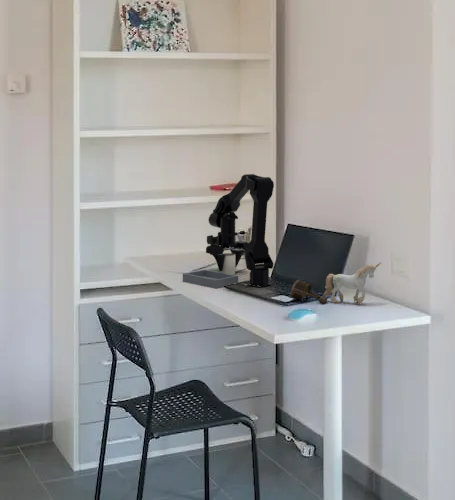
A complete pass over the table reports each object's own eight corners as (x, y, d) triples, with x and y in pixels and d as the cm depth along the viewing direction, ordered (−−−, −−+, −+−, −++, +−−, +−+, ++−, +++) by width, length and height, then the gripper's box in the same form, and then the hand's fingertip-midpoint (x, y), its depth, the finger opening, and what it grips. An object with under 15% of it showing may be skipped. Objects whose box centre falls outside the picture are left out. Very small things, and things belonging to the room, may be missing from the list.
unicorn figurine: (383, 305, 294) (384, 266, 292) (324, 305, 294) (325, 265, 292) (380, 300, 301) (381, 262, 299) (322, 300, 301) (323, 261, 299)
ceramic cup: (238, 274, 344) (238, 254, 343) (227, 277, 340) (227, 256, 339) (227, 272, 348) (227, 252, 347) (216, 274, 344) (216, 254, 343)
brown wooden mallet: (304, 280, 308) (284, 278, 301) (332, 283, 298) (313, 280, 292) (302, 301, 307) (282, 299, 301) (330, 304, 298) (311, 302, 291)
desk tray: (238, 283, 327) (238, 275, 327) (216, 288, 319) (216, 280, 319) (204, 277, 339) (204, 269, 339) (182, 281, 331) (182, 273, 331)
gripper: (229, 225, 353) (229, 263, 356) (195, 230, 340) (195, 269, 343) (250, 228, 346) (249, 267, 348) (216, 233, 333) (216, 273, 335)
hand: (227, 269), depth 344 cm, fingers open, 7 cm apart
